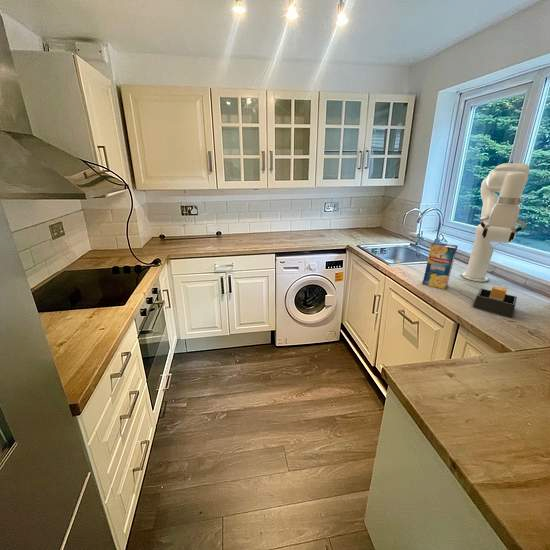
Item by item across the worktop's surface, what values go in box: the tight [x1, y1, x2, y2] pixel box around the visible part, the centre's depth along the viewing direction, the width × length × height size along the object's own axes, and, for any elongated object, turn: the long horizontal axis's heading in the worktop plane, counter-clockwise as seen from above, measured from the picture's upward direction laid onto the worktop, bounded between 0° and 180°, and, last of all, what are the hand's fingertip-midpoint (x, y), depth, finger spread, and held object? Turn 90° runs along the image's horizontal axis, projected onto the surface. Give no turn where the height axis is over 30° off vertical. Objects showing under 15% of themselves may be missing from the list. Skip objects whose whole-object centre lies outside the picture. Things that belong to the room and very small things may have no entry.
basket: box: [473, 287, 518, 318], centre depth 129 cm, size 14×12×6 cm
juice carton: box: [489, 284, 508, 301], centre depth 128 cm, size 6×5×9 cm
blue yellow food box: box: [422, 241, 459, 290], centre depth 150 cm, size 7×11×22 cm, turn 51°
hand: (496, 239), depth 133 cm, fingers open, 9 cm apart
